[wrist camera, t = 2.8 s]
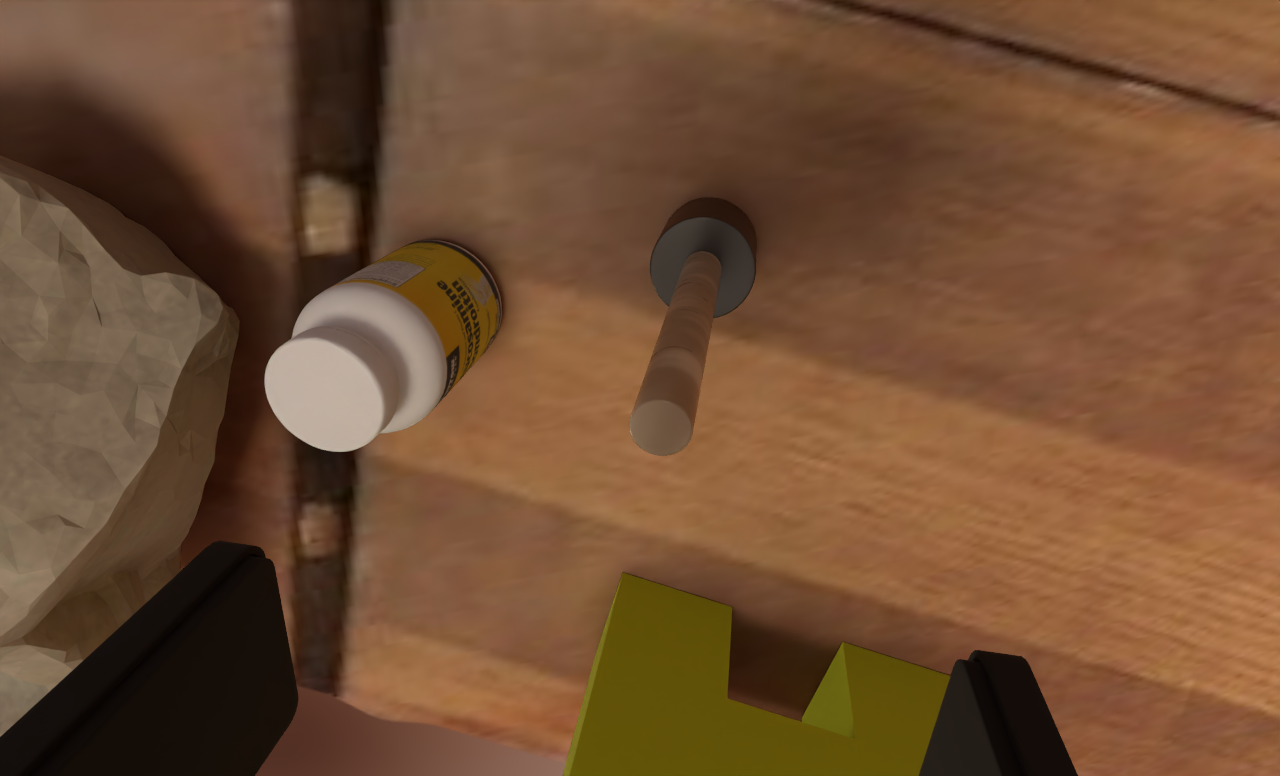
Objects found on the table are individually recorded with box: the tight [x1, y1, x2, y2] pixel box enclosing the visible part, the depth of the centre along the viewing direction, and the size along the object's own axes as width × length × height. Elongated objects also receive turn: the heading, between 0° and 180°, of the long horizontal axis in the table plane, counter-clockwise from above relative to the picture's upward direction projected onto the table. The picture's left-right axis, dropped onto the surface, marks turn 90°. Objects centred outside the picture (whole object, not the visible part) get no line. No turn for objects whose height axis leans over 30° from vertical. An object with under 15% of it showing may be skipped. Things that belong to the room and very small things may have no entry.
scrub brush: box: [629, 198, 757, 456], centre depth 27 cm, size 4×4×18 cm
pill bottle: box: [264, 240, 502, 452], centre depth 33 cm, size 6×6×12 cm
